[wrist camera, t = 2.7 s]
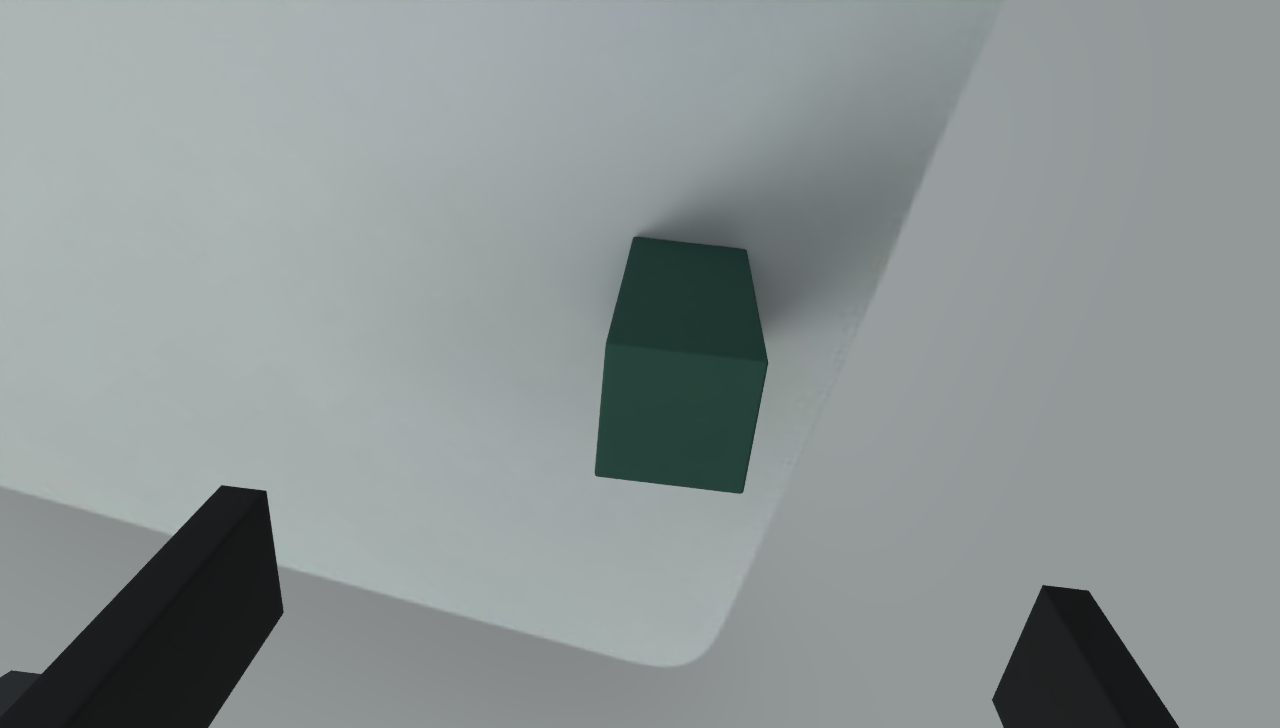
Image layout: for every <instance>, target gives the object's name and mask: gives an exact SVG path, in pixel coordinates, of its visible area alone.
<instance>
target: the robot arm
mask: <svg viewBox="0 0 1280 728" xmlns="http://www.w3.org/2000/svg"><path fill="white" fill-rule="evenodd" d="M282 614H283V604H282V598H281V590H280V583H279V576H278V570H277V562H276V555H275V548H274V541H273V534H272V527H271V520H270V513H269V506H268V499H267V492H266V491H264V490H256V489H247V488H239V487H231V486H223V485H221V486H220V487H219V489H218V490H217V491H216V492H215V493H214V494H213V495H212V496H211V497H210V498H209V499H208V500H207V501H206V502H205V503H204V504H203V505H202V506H201V507H200V508H199V510H198V511H197V512H196V513H195V514H194V515H193V516H192V517H191V518H190V519H189V520H188V521H187V522H186V523H185V524H184V525H183V526H182V527H181V528H180V529H179V530H178V532H177V533H176V534H175V535H174V536H173V537H172V538H171V539H170V540H169V541H168V542H167V543H166V544H165V545H164V546H163V547H162V549H160V550H159V551H158V553H157V554H156V555H155V556H154V557H153V558H152V559H151V560H150V561H149V562H148V563H147V564H146V565H145V566H144V567H143V568H142V569H141V570H140V571H139V573H138V574H137V575H136V576H135V577H134V578H133V579H132V580H131V581H130V582H129V583H128V584H127V585H126V586H125V587H124V588H123V589H122V590H121V591H120V592H119V593H118V595H117V596H116V597H115V598H114V599H113V600H112V601H111V602H110V603H109V604H108V605H107V606H106V607H105V608H104V609H103V610H102V611H101V612H100V614H99V615H97V617H96V618H95V619H94V620H93V621H92V622H91V623H90V624H89V625H88V626H87V627H86V628H85V629H84V630H83V631H82V632H81V633H80V634H79V635H78V636H77V638H76V639H75V640H74V641H73V642H72V643H71V644H70V645H69V646H68V647H67V648H66V649H65V650H64V651H63V652H62V653H61V654H60V655H59V656H58V658H57V659H56V660H55V661H54V662H53V663H52V664H51V665H50V666H49V667H48V668H47V669H46V670H45V671H44V672H43V673H42V674H35V673H27V672H18V671H10V672H8V673H7V674H5V675H4V676H2V677H0V728H208V727H209V725H210V724H211V722H212V721H213V719H214V718H215V716H216V715H217V713H218V711H219V710H220V709H221V707H222V706H223V704H224V702H225V701H226V699H227V698H228V697H229V695H230V693H231V692H232V690H233V689H234V687H235V686H236V684H237V683H238V681H239V680H240V678H241V677H242V675H243V674H244V672H245V670H246V669H247V668H248V666H249V665H250V663H251V661H252V660H253V659H254V657H255V655H256V654H257V652H258V651H259V649H260V648H261V646H262V645H263V643H264V642H265V640H266V639H267V637H268V636H269V634H270V633H271V631H272V630H273V628H274V626H275V625H276V624H277V622H278V620H279V619H280V617H281V616H282ZM992 701H993V703H994V706H995V708H996V710H997V712H998V715H999V717H1000V719H1001V722H1002V724H1003V727H1004V728H1179V727H1178V725H1177V724H1176V722H1175V720H1174V719H1173V718H1172V716H1171V714H1170V713H1169V712H1168V710H1167V708H1166V707H1165V705H1164V704H1163V703H1162V701H1161V699H1160V698H1159V696H1158V695H1157V693H1156V692H1155V690H1154V689H1153V687H1152V686H1151V684H1150V683H1149V681H1148V680H1147V678H1146V677H1145V675H1144V674H1143V672H1142V671H1141V669H1140V668H1139V666H1138V665H1137V663H1136V662H1135V660H1134V659H1133V657H1132V656H1131V654H1130V653H1129V651H1128V650H1127V648H1126V647H1125V645H1124V643H1123V642H1122V641H1121V639H1120V637H1119V636H1118V634H1117V633H1116V631H1115V630H1114V628H1113V627H1112V625H1111V624H1110V622H1109V621H1108V619H1107V618H1106V616H1105V615H1104V613H1103V612H1102V610H1101V609H1100V607H1099V606H1098V604H1097V603H1096V601H1095V600H1094V598H1093V597H1092V595H1091V594H1090V592H1089V591H1087V590H1079V589H1070V588H1062V587H1054V586H1045V585H1043V586H1042V588H1041V590H1040V593H1039V595H1038V597H1037V599H1036V602H1035V604H1034V606H1033V608H1032V611H1031V613H1030V615H1029V617H1028V620H1027V622H1026V624H1025V627H1024V629H1023V631H1022V634H1021V636H1020V638H1019V640H1018V642H1017V645H1016V647H1015V649H1014V651H1013V654H1012V656H1011V658H1010V660H1009V663H1008V665H1007V667H1006V669H1005V672H1004V674H1003V676H1002V679H1001V681H1000V683H999V685H998V688H997V690H996V692H995V695H994V697H993V699H992Z"/></svg>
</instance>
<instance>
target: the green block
mask: <svg viewBox="0 0 1280 728" xmlns="http://www.w3.org/2000/svg"><path fill="white" fill-rule="evenodd" d="M767 366H768V359H767V354H766V349H765V343H764V338H763V333H762V328H761V323H760V317H759V312H758V307H757V302H756V297H755V292H754V286H753V281H752V276H751V271H750V266H749V260H748V255H747V250H745V249H736V248H728V247H719V246H710V245H702V244H693V243H684V242H676V241H667V240H658V239H650V238H641V237H634V238H633V241H632V245H631V249H630V252H629V256H628V260H627V264H626V268H625V272H624V276H623V279H622V283H621V287H620V291H619V295H618V299H617V303H616V306H615V310H614V314H613V318H612V322H611V326H610V330H609V334H608V337H607V341H606V348H605V360H604V371H603V383H602V395H601V406H600V418H599V430H598V441H597V453H596V464H595V475H596V476H598V477H606V478H615V479H623V480H631V481H639V482H648V483H656V484H664V485H673V486H681V487H689V488H698V489H706V490H714V491H722V492H731V493H739V494H741V493H742V492H743V491H744V486H745V480H746V475H747V470H748V465H749V460H750V454H751V449H752V444H753V439H754V434H755V429H756V423H757V418H758V413H759V408H760V403H761V398H762V392H763V387H764V382H765V377H766V372H767Z"/></svg>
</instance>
